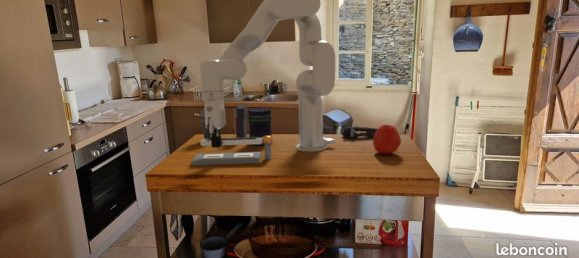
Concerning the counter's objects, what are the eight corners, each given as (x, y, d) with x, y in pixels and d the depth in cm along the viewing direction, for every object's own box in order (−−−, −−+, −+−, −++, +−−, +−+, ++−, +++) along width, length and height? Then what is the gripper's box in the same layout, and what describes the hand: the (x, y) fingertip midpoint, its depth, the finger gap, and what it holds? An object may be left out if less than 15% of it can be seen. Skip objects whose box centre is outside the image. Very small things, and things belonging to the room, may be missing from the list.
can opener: (343, 140, 170) (343, 128, 169) (341, 137, 177) (341, 124, 176) (384, 139, 171) (384, 126, 170) (380, 135, 178) (380, 123, 176)
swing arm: (272, 141, 145) (272, 135, 145) (272, 143, 141) (271, 137, 141) (203, 143, 145) (202, 137, 145) (200, 145, 141) (200, 139, 141)
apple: (406, 152, 147) (406, 125, 145) (382, 156, 143) (383, 128, 141) (389, 147, 156) (390, 121, 154) (367, 150, 152) (367, 123, 150)
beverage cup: (220, 140, 178) (217, 96, 174) (215, 143, 171) (212, 98, 167) (204, 140, 178) (201, 96, 174) (199, 143, 171) (196, 98, 167)
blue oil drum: (271, 146, 163) (270, 111, 160) (248, 147, 163) (246, 111, 160) (273, 141, 173) (271, 107, 170) (250, 141, 173) (249, 108, 170)
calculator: (239, 136, 183) (237, 105, 180) (248, 136, 183) (246, 104, 180) (236, 142, 172) (234, 108, 169) (245, 142, 172) (244, 108, 169)
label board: (271, 155, 149) (271, 139, 148) (271, 162, 139) (270, 146, 138) (197, 157, 149) (196, 142, 148) (191, 165, 139) (190, 149, 138)
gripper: (217, 98, 128) (221, 152, 132) (229, 93, 143) (232, 142, 146) (195, 98, 129) (199, 152, 133) (209, 93, 144) (212, 142, 147)
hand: (216, 146), depth 140 cm, fingers closed
